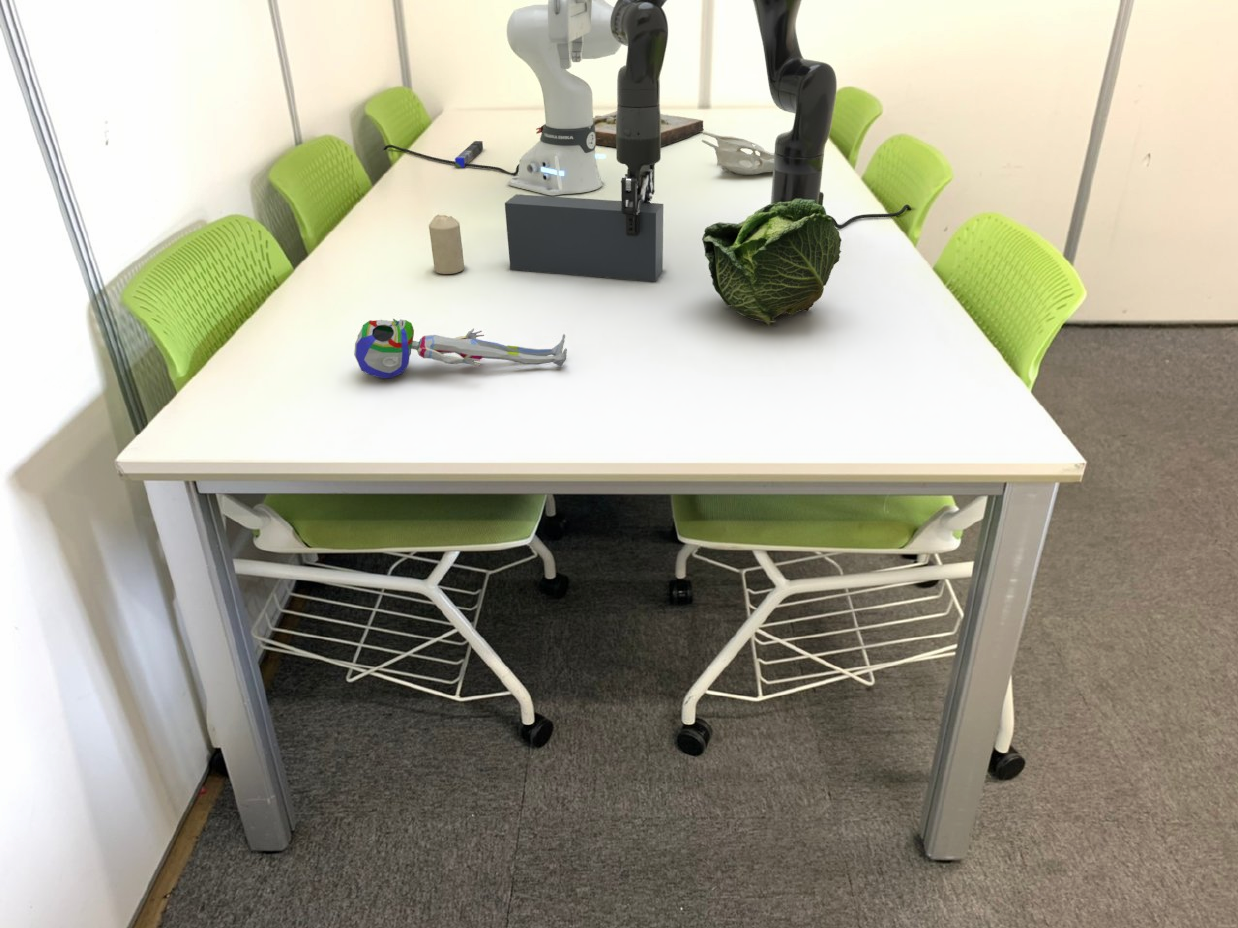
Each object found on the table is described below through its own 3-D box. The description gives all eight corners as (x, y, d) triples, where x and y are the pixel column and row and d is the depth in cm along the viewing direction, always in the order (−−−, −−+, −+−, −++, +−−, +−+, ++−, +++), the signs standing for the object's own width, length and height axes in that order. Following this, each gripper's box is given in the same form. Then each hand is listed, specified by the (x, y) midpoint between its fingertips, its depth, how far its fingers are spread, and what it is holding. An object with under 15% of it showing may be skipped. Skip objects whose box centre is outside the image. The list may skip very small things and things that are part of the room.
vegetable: (733, 339, 155) (677, 239, 148) (822, 277, 157) (772, 174, 149) (783, 360, 137) (723, 247, 129) (884, 290, 138) (830, 173, 131)
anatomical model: (704, 128, 226) (804, 127, 222) (703, 165, 231) (801, 165, 227) (699, 142, 214) (805, 141, 210) (699, 181, 219) (803, 181, 215)
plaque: (647, 125, 237) (559, 112, 252) (647, 153, 241) (560, 139, 256) (706, 107, 258) (622, 97, 273) (705, 133, 262) (622, 121, 277)
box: (510, 269, 167) (504, 203, 160) (521, 259, 172) (516, 194, 165) (655, 282, 161) (655, 213, 154) (662, 271, 165) (663, 203, 159)
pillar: (482, 141, 246) (462, 159, 229) (483, 149, 247) (463, 167, 230) (474, 141, 246) (454, 159, 230) (475, 149, 247) (455, 167, 231)
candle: (469, 265, 169) (463, 213, 163) (455, 275, 164) (449, 221, 159) (443, 262, 170) (437, 210, 165) (429, 272, 166) (422, 219, 160)
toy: (569, 347, 126) (349, 329, 122) (563, 400, 131) (350, 385, 126) (565, 318, 135) (359, 301, 130) (559, 369, 139) (360, 354, 134)
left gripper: (572, -15, 152) (576, 73, 159) (596, -21, 169) (598, 58, 177) (536, -15, 153) (541, 72, 160) (563, -21, 170) (567, 58, 178)
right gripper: (650, 143, 144) (649, 243, 152) (669, 124, 155) (667, 218, 164) (605, 141, 145) (607, 240, 154) (627, 122, 157) (628, 215, 166)
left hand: (571, 65), depth 169 cm, fingers open, 8 cm apart
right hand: (638, 228), depth 159 cm, fingers open, 7 cm apart
